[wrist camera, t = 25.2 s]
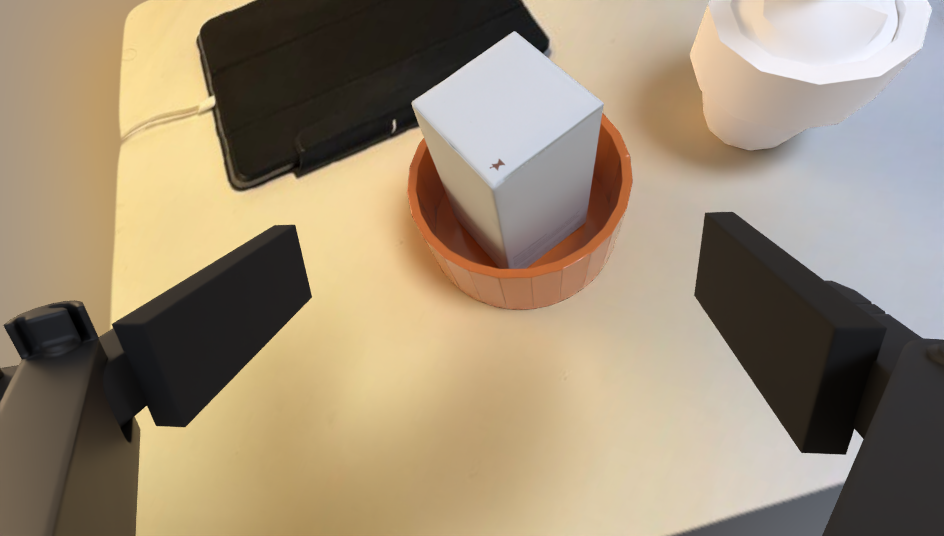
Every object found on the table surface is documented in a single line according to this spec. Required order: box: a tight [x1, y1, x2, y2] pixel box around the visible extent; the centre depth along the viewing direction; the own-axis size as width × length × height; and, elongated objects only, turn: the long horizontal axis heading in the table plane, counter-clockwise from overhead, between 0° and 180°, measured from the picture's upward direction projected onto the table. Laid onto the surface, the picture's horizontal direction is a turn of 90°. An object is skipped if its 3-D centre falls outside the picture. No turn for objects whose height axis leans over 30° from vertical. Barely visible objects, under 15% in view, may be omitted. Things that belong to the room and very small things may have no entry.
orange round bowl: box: [407, 113, 633, 310], centre depth 32 cm, size 14×14×6 cm
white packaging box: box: [412, 32, 604, 269], centre depth 29 cm, size 7×7×13 cm
